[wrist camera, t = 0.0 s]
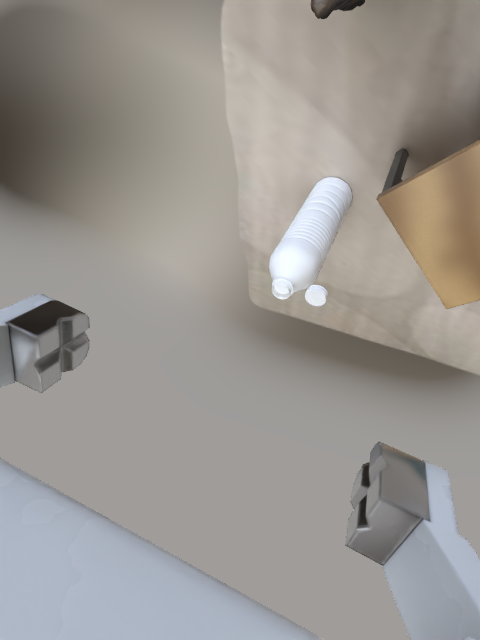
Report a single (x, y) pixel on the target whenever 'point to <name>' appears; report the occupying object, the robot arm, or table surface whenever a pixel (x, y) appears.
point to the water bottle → (310, 241)
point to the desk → (440, 221)
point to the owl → (333, 6)
